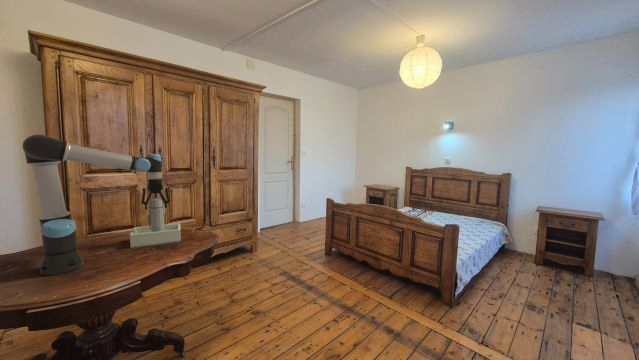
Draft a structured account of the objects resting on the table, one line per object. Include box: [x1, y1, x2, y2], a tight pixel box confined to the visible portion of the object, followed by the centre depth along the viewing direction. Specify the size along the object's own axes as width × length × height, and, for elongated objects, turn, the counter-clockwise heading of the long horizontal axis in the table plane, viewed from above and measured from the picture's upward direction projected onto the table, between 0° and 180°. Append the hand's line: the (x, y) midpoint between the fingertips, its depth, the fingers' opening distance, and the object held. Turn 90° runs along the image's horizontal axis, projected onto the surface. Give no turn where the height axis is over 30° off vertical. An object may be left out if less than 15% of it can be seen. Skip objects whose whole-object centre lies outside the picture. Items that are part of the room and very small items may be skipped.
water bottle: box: [148, 197, 165, 232], centre depth 168 cm, size 9×8×25 cm
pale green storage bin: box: [129, 222, 182, 249], centre depth 169 cm, size 26×16×8 cm, turn 118°
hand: (156, 213), depth 168 cm, fingers closed on water bottle, 8 cm apart
